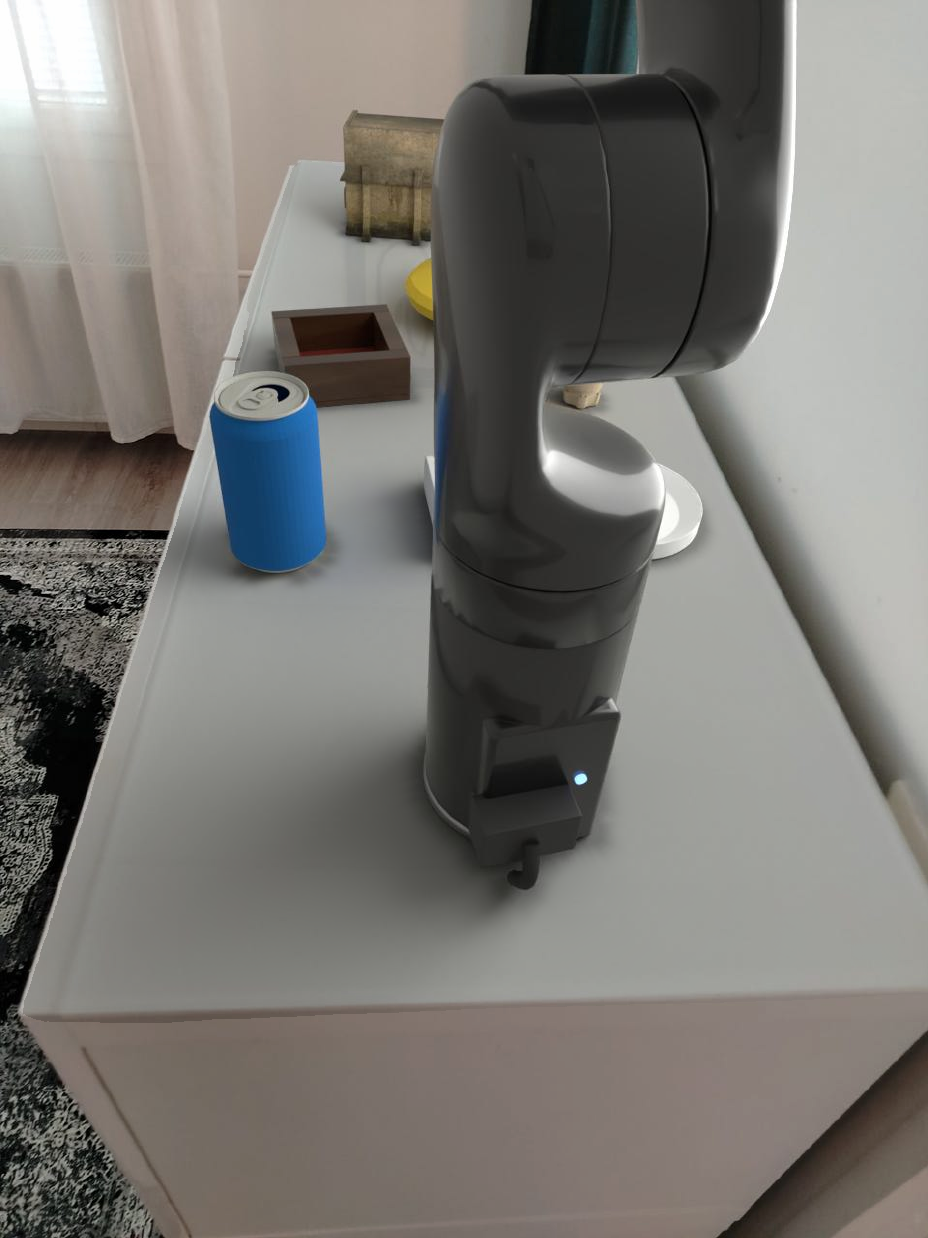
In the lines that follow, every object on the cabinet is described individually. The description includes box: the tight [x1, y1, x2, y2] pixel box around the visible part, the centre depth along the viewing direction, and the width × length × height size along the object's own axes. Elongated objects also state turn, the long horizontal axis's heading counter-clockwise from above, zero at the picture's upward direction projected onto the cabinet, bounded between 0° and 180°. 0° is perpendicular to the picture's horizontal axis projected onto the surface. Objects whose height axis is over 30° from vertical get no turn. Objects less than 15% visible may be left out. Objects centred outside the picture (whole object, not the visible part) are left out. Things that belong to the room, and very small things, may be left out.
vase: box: [404, 257, 433, 321], centre depth 89 cm, size 16×16×7 cm
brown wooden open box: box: [271, 303, 411, 408], centre depth 79 cm, size 10×10×4 cm
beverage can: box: [208, 370, 327, 574], centre depth 58 cm, size 6×6×12 cm
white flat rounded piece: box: [423, 455, 704, 560], centre depth 66 cm, size 12×3×20 cm
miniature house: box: [339, 109, 445, 247], centre depth 106 cm, size 15×14×11 cm
